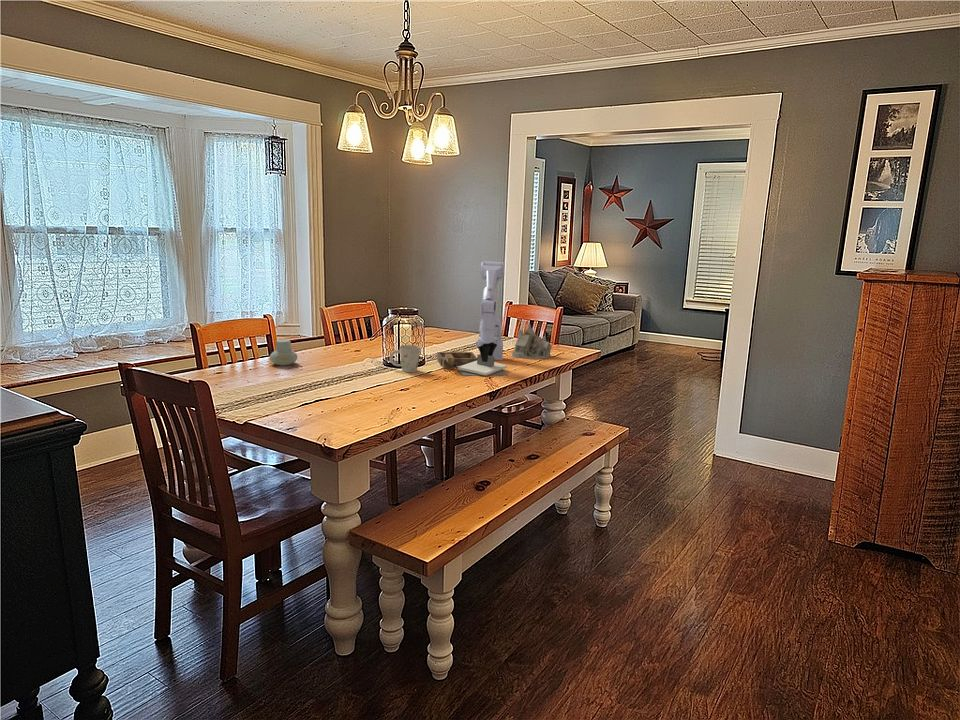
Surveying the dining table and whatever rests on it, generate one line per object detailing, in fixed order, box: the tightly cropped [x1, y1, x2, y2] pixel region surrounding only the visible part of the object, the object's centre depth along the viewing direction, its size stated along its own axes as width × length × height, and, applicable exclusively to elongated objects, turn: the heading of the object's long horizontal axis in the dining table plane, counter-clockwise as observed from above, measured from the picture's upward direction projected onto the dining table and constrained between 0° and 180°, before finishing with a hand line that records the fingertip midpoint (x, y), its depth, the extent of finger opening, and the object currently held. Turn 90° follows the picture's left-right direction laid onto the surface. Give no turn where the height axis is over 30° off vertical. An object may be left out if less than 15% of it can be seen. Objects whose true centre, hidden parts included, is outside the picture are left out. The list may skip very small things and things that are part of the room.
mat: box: [455, 365, 509, 377], centre depth 266 cm, size 19×17×1 cm
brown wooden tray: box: [436, 351, 477, 370], centre depth 277 cm, size 16×20×4 cm
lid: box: [457, 353, 508, 376], centre depth 264 cm, size 16×14×6 cm
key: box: [445, 354, 454, 363], centre depth 263 cm, size 2×8×2 cm, turn 11°
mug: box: [389, 344, 421, 373], centre depth 260 cm, size 8×13×10 cm, turn 89°
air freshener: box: [269, 339, 298, 367], centre depth 263 cm, size 11×8×10 cm
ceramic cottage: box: [511, 323, 553, 360], centre depth 297 cm, size 16×16×15 cm
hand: (486, 361), depth 266 cm, fingers closed on lid, 2 cm apart
